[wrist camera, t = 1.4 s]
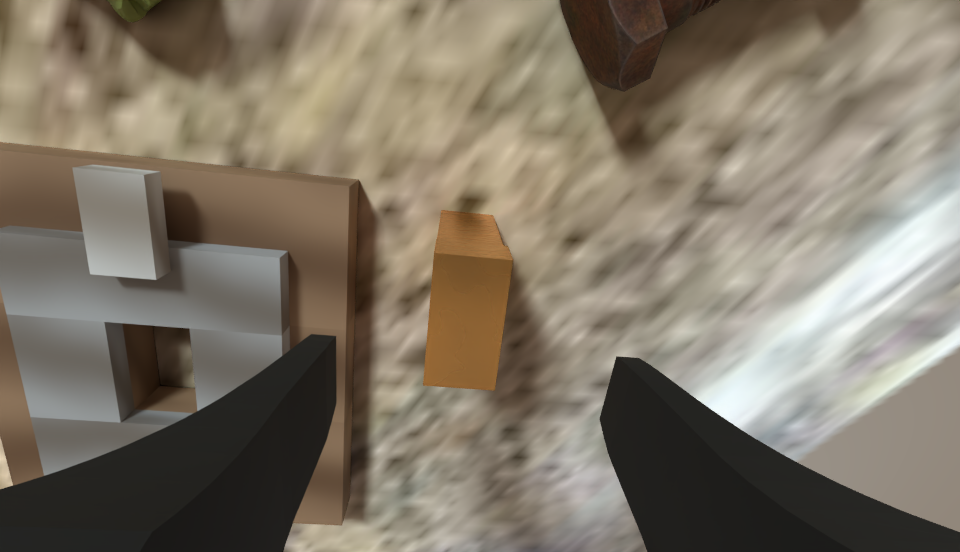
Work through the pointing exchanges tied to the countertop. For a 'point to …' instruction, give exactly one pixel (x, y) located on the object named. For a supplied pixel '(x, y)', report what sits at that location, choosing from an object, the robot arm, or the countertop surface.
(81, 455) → the brown grey stepped board
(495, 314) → the notched wooden block
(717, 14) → the countertop surface
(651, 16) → the bolt
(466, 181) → the countertop surface
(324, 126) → the countertop surface
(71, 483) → the robot arm
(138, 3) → the pear
